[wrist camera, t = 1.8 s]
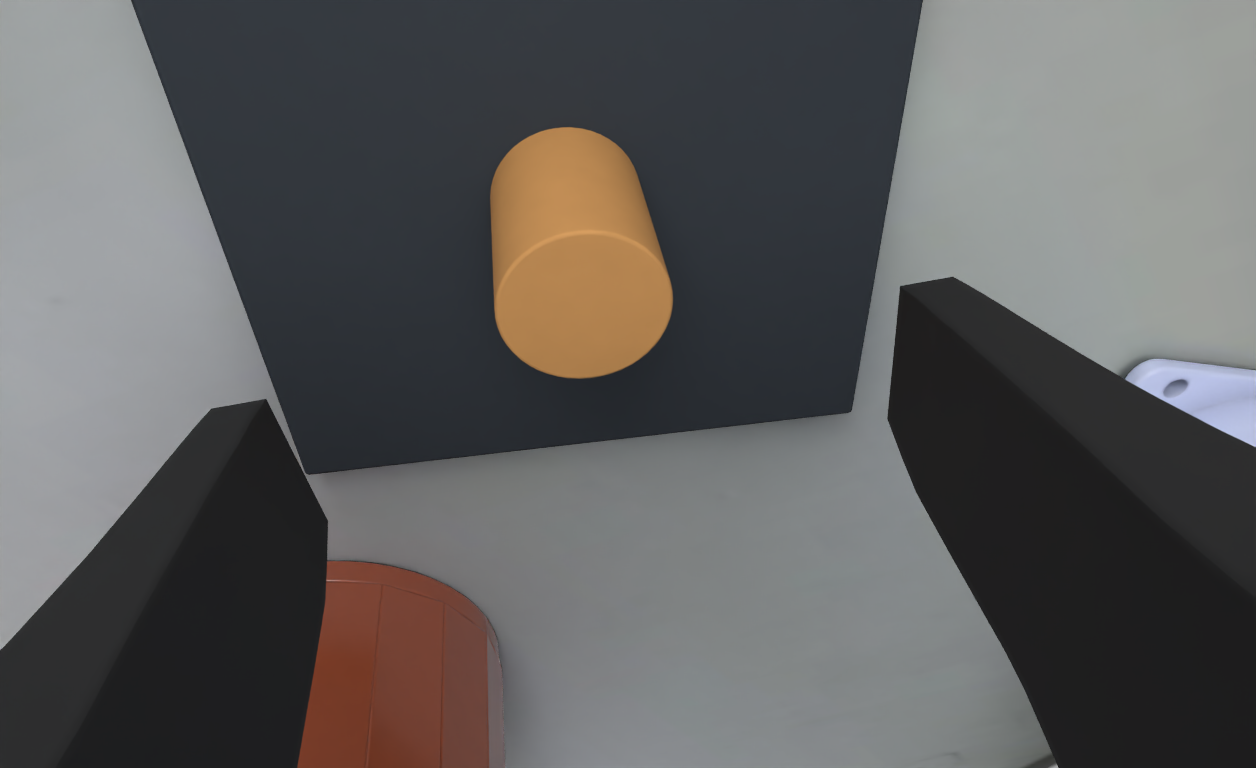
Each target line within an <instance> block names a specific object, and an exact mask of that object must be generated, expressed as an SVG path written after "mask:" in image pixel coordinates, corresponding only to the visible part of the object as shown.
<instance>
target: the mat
mask: <svg viewBox="0 0 1256 768" xmlns="http://www.w3.org/2000/svg"><path fill="white" fill-rule="evenodd" d="M131 1H132V4H133V7H134V9H135V12H136V15H137V17H138V20H139V23H140V26H141V28H142V31H143V34H144V36H145V39H146V42H147V45H148V47H149V50H150V53H151V55H152V58H153V61H154V64H155V66H156V69H157V72H158V74H159V77H160V80H161V83H162V85H163V88H164V91H165V93H166V96H167V99H168V102H169V104H170V107H171V110H172V112H173V115H174V118H175V121H176V123H177V126H178V129H179V131H180V134H181V137H182V140H183V142H184V145H185V148H186V150H187V153H188V156H189V159H190V161H191V164H192V167H193V169H194V172H195V175H196V177H197V180H198V183H199V186H200V188H201V191H202V194H203V196H204V199H205V202H206V205H207V207H208V210H209V213H210V215H211V218H212V221H213V224H214V226H215V229H216V232H217V234H218V237H219V240H220V243H221V245H222V248H223V251H224V253H225V256H226V259H227V262H228V264H229V267H230V270H231V272H232V275H233V278H234V281H235V283H236V286H237V289H238V291H239V294H240V297H241V300H242V302H243V305H244V308H245V310H246V313H247V316H248V319H249V321H250V324H251V327H252V329H253V332H254V335H255V338H256V340H257V343H258V346H259V348H260V351H261V354H262V357H263V359H264V362H265V365H266V367H267V370H268V373H269V376H270V378H271V381H272V384H273V386H274V389H275V392H276V394H277V397H278V400H279V403H280V405H281V408H282V411H283V413H284V416H285V419H286V422H287V424H288V427H289V430H290V432H291V435H292V438H293V441H294V443H295V446H296V449H297V451H298V454H299V457H300V460H301V462H302V465H303V468H304V470H305V473H306V474H309V475H311V474H320V473H328V472H337V471H346V470H355V469H363V468H372V467H381V466H389V465H398V464H407V463H415V462H424V461H433V460H442V459H450V458H459V457H468V456H476V455H485V454H494V453H502V452H511V451H520V450H529V449H537V448H546V447H555V446H563V445H572V444H581V443H590V442H598V441H607V440H616V439H624V438H633V437H642V436H650V435H659V434H668V433H677V432H685V431H694V430H703V429H711V428H720V427H729V426H737V425H746V424H755V423H764V422H772V421H781V420H790V419H798V418H807V417H816V416H824V415H833V414H842V413H849V412H851V410H852V406H853V400H854V394H855V388H856V382H857V377H858V371H859V365H860V359H861V354H862V348H863V342H864V336H865V331H866V325H867V319H868V313H869V308H870V302H871V296H872V290H873V284H874V279H875V273H876V267H877V261H878V256H879V250H880V244H881V238H882V233H883V227H884V221H885V215H886V209H887V204H888V198H889V192H890V186H891V181H892V175H893V169H894V163H895V158H896V152H897V146H898V140H899V135H900V129H901V123H902V117H903V111H904V106H905V100H906V94H907V88H908V83H909V77H910V71H911V65H912V60H913V54H914V48H915V42H916V37H917V31H918V25H919V19H920V13H921V8H922V2H923V0H131Z"/></svg>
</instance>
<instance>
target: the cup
mask: <svg viewBox="0 0 1256 768" xmlns="http://www.w3.org/2000/svg"><path fill="white" fill-rule="evenodd" d="M297 768H505V744H504V713H503V681H502V666H501V664H500V662H499V648H498V641H497V638H496V635H495V632H494V629H493V628H492V626H491V624H490V622H489V621H488V619H487V617H486V616H485V615H484V614H483V613H482V612H481V610H480V609H479V608H478V607H477V606H476V605H475V604H474V603H472V602H471V601H470V600H469V599H468V598H467V597H465V596H464V595H462V594H461V593H459V592H458V591H456V590H455V589H453V588H451V587H449V586H447V585H445V584H443V583H441V582H439V581H437V580H435V579H433V578H430V577H427V576H425V575H422V574H419V573H416V572H413V571H409V570H405V569H402V568H398V567H394V566H388V565H382V564H376V563H367V562H356V561H327V577H326V599H325V607H324V614H323V620H322V626H321V632H320V638H319V644H318V651H317V657H316V663H315V669H314V674H313V680H312V686H311V692H310V697H309V703H308V709H307V715H306V720H305V726H304V732H303V738H302V743H301V749H300V755H299V761H298V766H297Z"/></svg>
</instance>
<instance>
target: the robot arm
mask: <svg viewBox="0 0 1256 768" xmlns="http://www.w3.org/2000/svg"><path fill="white" fill-rule="evenodd" d="M887 419H888V422H889V424H890V427H891V430H892V432H893V435H894V438H895V440H896V443H897V445H898V448H899V451H900V453H901V456H902V459H903V461H904V464H905V466H906V468H907V471H908V473H909V476H910V478H911V481H912V483H913V486H914V488H915V490H916V493H917V494H918V496H919V498H920V500H921V502H922V504H923V506H924V507H925V509H926V511H927V513H928V515H929V517H930V518H931V520H932V522H933V524H934V526H935V527H936V529H937V531H938V533H939V535H940V536H941V538H942V540H943V542H944V544H945V546H946V547H947V549H948V551H949V553H950V554H951V556H952V558H953V560H954V562H955V563H956V565H957V567H958V569H959V570H960V572H961V574H962V576H963V577H964V579H965V581H966V583H967V585H968V586H969V588H970V590H971V592H972V593H973V595H974V597H975V599H976V601H977V602H978V604H979V606H980V608H981V609H982V611H983V613H984V615H985V616H986V618H987V620H988V622H989V624H990V625H991V627H992V629H993V631H994V632H995V634H996V636H997V638H998V640H999V641H1000V643H1001V645H1002V647H1003V648H1004V650H1005V652H1006V654H1007V656H1008V658H1009V660H1010V662H1011V664H1012V666H1013V668H1014V670H1015V672H1016V674H1017V676H1018V678H1019V679H1020V681H1021V683H1022V685H1023V687H1024V689H1025V692H1026V694H1027V696H1028V698H1029V701H1030V703H1031V705H1032V708H1033V710H1034V712H1035V714H1036V717H1037V719H1038V721H1039V724H1040V726H1041V728H1042V731H1043V733H1044V735H1045V737H1046V740H1047V742H1048V744H1049V747H1050V749H1051V751H1052V754H1053V756H1054V758H1055V760H1056V763H1057V765H1058V767H1059V768H1256V370H1250V369H1241V368H1233V367H1225V366H1217V365H1209V364H1201V363H1193V362H1185V361H1176V360H1168V359H1150V360H1147V361H1145V362H1142V363H1140V364H1139V365H1137V366H1136V367H1134V368H1133V370H1132V371H1131V372H1130V373H1129V374H1128V375H1127V377H1126V378H1125V379H1123V378H1122V377H1120V376H1118V375H1116V374H1115V373H1113V372H1111V371H1109V370H1108V369H1106V368H1104V367H1102V366H1101V365H1099V364H1097V363H1096V362H1094V361H1092V360H1091V359H1089V358H1087V357H1085V356H1084V355H1082V354H1080V353H1079V352H1077V351H1075V350H1074V349H1072V348H1070V347H1069V346H1067V345H1065V344H1064V343H1062V342H1060V341H1059V340H1057V339H1055V338H1054V337H1052V336H1051V335H1049V334H1047V333H1046V332H1044V331H1042V330H1041V329H1039V328H1038V327H1036V326H1034V325H1033V324H1031V323H1029V322H1028V321H1026V320H1025V319H1023V318H1021V317H1020V316H1018V315H1016V314H1015V313H1013V312H1012V311H1010V310H1008V309H1007V308H1005V307H1003V306H1002V305H1000V304H999V303H997V302H995V301H994V300H992V299H990V298H989V297H987V296H986V295H984V294H982V293H981V292H979V291H977V290H975V289H974V288H972V287H970V286H969V285H967V284H965V283H963V282H961V281H960V280H958V279H956V278H954V277H949V278H943V279H938V280H932V281H927V282H921V283H915V284H910V285H904V286H900V295H899V305H898V315H897V325H896V336H895V346H894V356H893V366H892V377H891V387H890V397H889V407H888V418H887ZM327 538H328V520H327V518H326V516H325V514H324V512H323V510H322V508H321V506H320V504H319V502H318V501H317V499H316V497H315V495H314V493H313V491H312V489H311V487H310V485H309V483H308V481H307V479H306V477H305V475H304V473H303V471H302V469H301V467H300V465H299V463H298V461H297V459H296V457H295V455H294V453H293V451H292V449H291V447H290V445H289V443H288V441H287V439H286V437H285V435H284V433H283V431H282V429H281V427H280V425H279V424H278V422H277V420H276V418H275V416H274V414H273V412H272V410H271V408H270V406H269V404H268V402H267V400H266V399H264V400H258V401H252V402H247V403H241V404H235V405H230V406H224V407H219V408H213V409H211V410H210V411H209V412H208V413H207V414H206V415H205V416H204V418H203V419H202V420H201V421H200V422H199V423H198V424H197V425H196V427H195V428H194V429H193V430H192V431H191V432H190V434H189V435H188V436H187V437H186V438H185V439H184V441H183V442H182V443H181V444H180V445H179V447H178V448H177V449H176V450H175V451H174V453H173V454H172V455H171V456H170V458H169V459H168V460H167V461H166V462H165V464H164V465H163V466H162V467H161V468H160V470H159V471H158V472H157V473H156V475H155V476H154V477H153V478H152V479H151V481H150V482H149V483H148V484H147V486H146V487H145V488H144V489H143V490H142V492H141V493H140V494H139V495H138V496H137V498H136V499H135V500H134V501H133V502H132V504H131V505H130V506H129V507H128V508H127V509H126V511H125V512H124V513H123V514H122V515H121V517H120V518H119V519H118V520H117V521H116V523H115V524H114V525H113V526H112V527H111V528H110V530H109V531H108V532H107V533H106V534H105V536H104V537H103V538H102V539H101V540H100V542H99V543H98V544H97V545H96V546H95V547H94V549H93V550H92V551H91V552H90V553H89V554H88V556H87V557H86V558H85V559H84V560H83V561H82V562H81V563H80V565H79V566H78V567H77V568H76V569H75V570H74V571H73V572H72V573H71V574H70V576H69V577H68V578H67V579H66V580H65V581H64V582H63V583H62V584H61V585H60V586H59V588H58V589H57V590H56V591H55V592H54V593H53V594H52V595H51V596H50V597H49V598H48V600H47V601H46V602H45V603H44V604H43V605H42V606H41V607H40V608H39V609H38V611H37V612H36V613H35V614H34V615H33V616H32V617H31V618H30V619H29V620H28V621H27V623H26V624H25V625H24V626H23V627H22V628H21V629H20V630H19V631H18V632H17V633H16V635H15V636H14V637H13V638H12V639H11V640H10V641H9V642H8V643H7V644H6V645H5V646H4V647H3V648H2V649H1V650H0V768H297V766H298V761H299V755H300V749H301V743H302V738H303V732H304V726H305V720H306V715H307V709H308V703H309V697H310V692H311V686H312V680H313V674H314V669H315V663H316V657H317V651H318V644H319V638H320V632H321V626H322V620H323V614H324V607H325V599H326V577H327Z"/></svg>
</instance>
